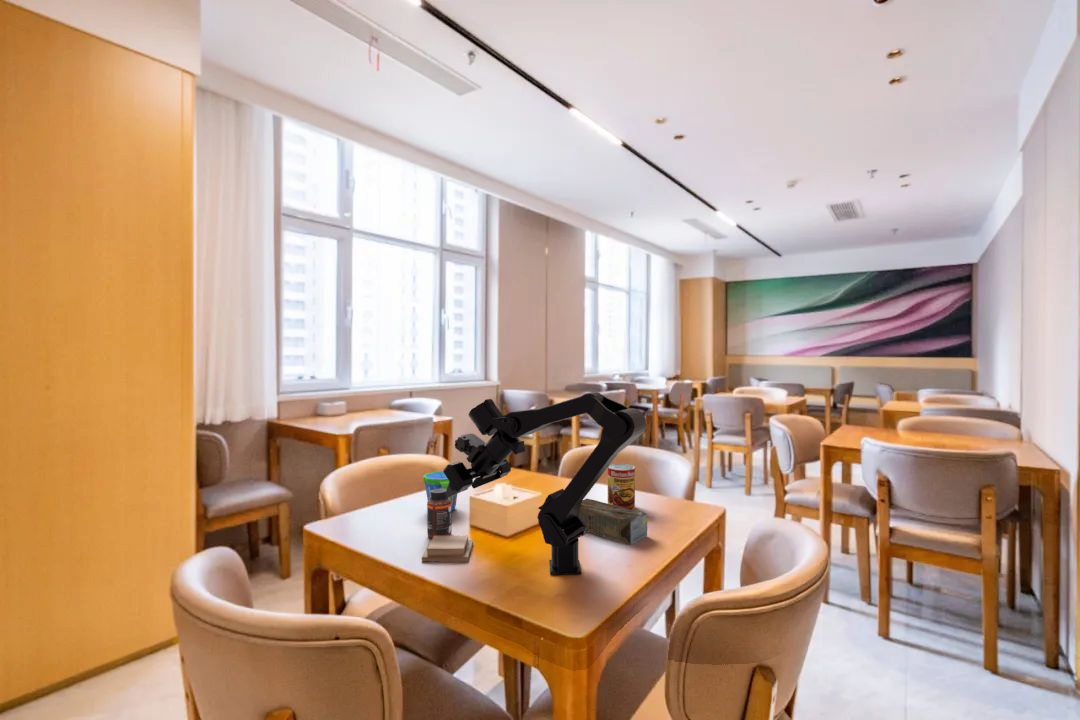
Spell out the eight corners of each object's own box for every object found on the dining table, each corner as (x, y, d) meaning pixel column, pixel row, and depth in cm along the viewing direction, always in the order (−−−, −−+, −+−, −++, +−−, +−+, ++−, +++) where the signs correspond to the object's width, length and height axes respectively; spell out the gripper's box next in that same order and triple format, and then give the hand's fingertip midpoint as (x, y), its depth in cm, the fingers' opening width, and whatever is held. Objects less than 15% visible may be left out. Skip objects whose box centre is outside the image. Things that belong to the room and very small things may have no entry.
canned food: (613, 512, 147) (613, 470, 147) (603, 504, 155) (603, 464, 155) (639, 510, 149) (639, 468, 149) (628, 502, 157) (628, 463, 156)
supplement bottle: (456, 535, 130) (456, 489, 129) (437, 541, 125) (437, 495, 125) (441, 529, 134) (441, 485, 133) (422, 536, 129) (422, 490, 129)
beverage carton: (630, 546, 123) (630, 518, 122) (567, 528, 136) (567, 502, 135) (648, 537, 128) (648, 510, 128) (586, 520, 141) (586, 496, 141)
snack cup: (423, 503, 157) (423, 469, 157) (458, 500, 159) (458, 467, 159) (423, 519, 142) (423, 482, 141) (462, 516, 144) (462, 480, 144)
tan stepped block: (467, 561, 113) (467, 550, 113) (421, 561, 113) (421, 550, 113) (473, 544, 123) (473, 533, 123) (430, 544, 123) (430, 534, 123)
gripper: (501, 419, 130) (467, 458, 136) (449, 428, 114) (414, 472, 121) (527, 454, 126) (491, 492, 132) (477, 469, 110) (439, 511, 116)
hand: (460, 491), depth 125 cm, fingers open, 9 cm apart
